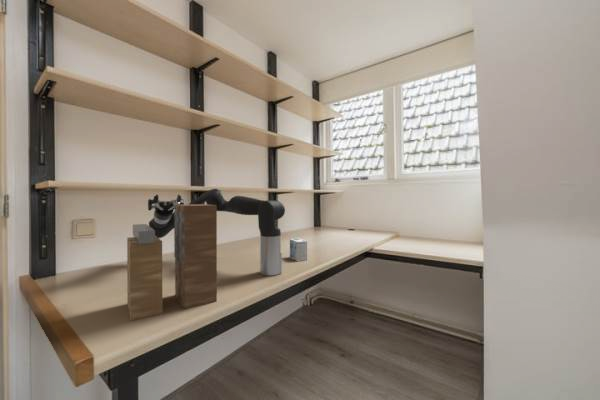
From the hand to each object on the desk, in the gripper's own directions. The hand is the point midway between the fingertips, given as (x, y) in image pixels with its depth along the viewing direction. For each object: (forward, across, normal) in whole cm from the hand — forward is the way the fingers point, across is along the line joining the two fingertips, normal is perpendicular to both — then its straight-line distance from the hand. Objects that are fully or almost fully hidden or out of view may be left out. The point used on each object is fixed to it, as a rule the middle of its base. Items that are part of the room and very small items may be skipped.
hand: (168, 196), depth 112 cm
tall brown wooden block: (+10, +3, +46) cm, 47 cm away
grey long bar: (+17, -12, +25) cm, 33 cm away
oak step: (+9, -12, +45) cm, 48 cm away
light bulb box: (-12, +65, +34) cm, 74 cm away
